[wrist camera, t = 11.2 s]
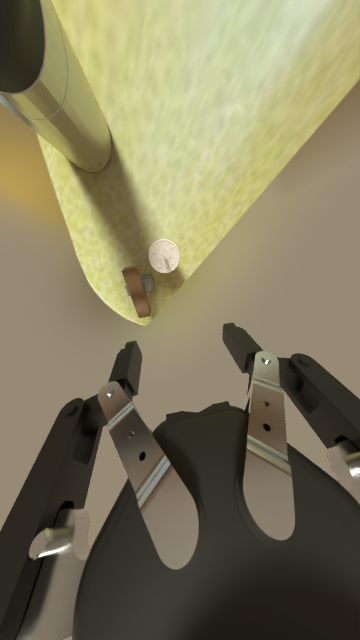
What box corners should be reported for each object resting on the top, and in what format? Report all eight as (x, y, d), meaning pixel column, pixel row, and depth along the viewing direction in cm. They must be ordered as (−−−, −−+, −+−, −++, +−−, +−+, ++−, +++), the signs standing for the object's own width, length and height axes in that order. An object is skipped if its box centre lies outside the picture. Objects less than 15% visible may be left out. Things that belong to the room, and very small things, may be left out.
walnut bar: (125, 267, 31) (121, 271, 28) (137, 265, 31) (135, 268, 28) (140, 311, 38) (139, 317, 35) (150, 309, 38) (150, 315, 35)
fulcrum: (126, 279, 37) (122, 284, 33) (151, 274, 37) (150, 280, 33) (130, 291, 39) (127, 297, 35) (154, 287, 39) (153, 293, 35)
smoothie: (172, 234, 33) (179, 235, 21) (177, 261, 36) (186, 275, 25) (147, 240, 33) (141, 244, 21) (154, 267, 36) (153, 283, 25)
